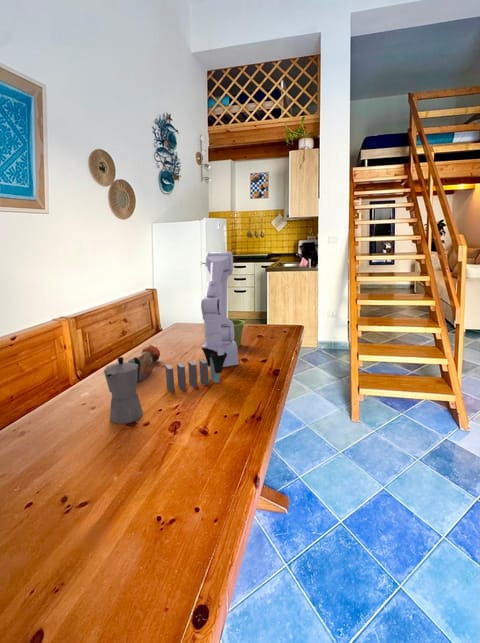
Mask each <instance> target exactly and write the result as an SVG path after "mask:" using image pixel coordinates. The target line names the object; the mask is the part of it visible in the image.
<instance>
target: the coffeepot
mask: <svg viewBox="0 0 480 643" xmlns="http://www.w3.org/2000/svg"><path fill="white" fill-rule="evenodd" d="M139 370H140V361H139V360H138V358H134V357H133V358H132V359H128V360H127V362H124V357H122V356H120V357H117V363H114V364H110V365H107V366H106V367H105V369H104V370H103V373H104V377H105V380H106V384H107V387H108V391H109V393H111V400H110V413H109V414H110V415H109V421H111V422H112V423H114V424H117V425H126V424H130V423H135V422H136V421H138V420H140V418H142V416H143V412H144V411H143V408H142V405H141V401H140V397H139V394H138V392H137V389H138V385H139Z"/></svg>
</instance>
